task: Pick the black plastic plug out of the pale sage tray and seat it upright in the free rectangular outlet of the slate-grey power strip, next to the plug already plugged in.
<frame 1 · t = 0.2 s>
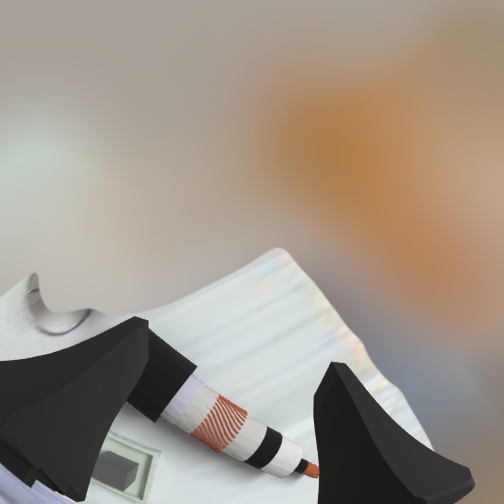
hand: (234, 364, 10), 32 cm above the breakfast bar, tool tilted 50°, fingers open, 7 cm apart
plug: (122, 465, 28), resting on tray
tray: (123, 465, 28), on the breakfast bar
black white cylindrical piece: (218, 419, 35), on the breakfast bar
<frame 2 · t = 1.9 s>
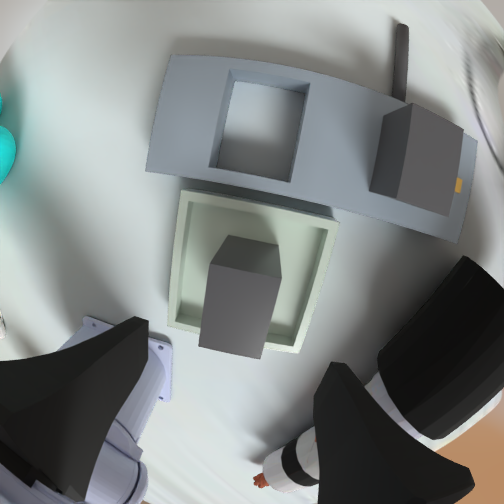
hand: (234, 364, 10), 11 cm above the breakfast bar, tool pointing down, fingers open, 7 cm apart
donuts: (3, 141, 18), on the breakfast bar
plug: (246, 273, 19), resting on tray
power strip: (326, 143, 17), on the breakfast bar
tray: (247, 271, 20), on the breakfast bar
black white cylindrical piece: (351, 400, 24), on the breakfast bar
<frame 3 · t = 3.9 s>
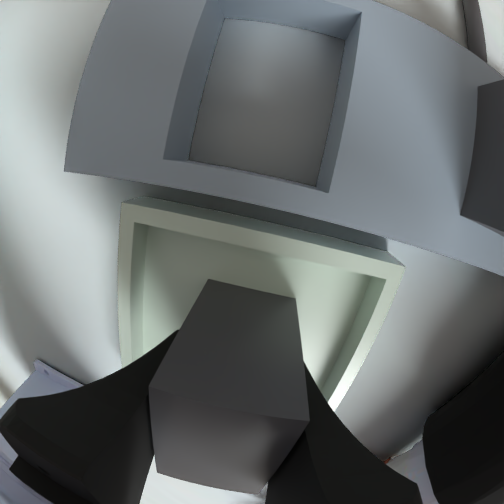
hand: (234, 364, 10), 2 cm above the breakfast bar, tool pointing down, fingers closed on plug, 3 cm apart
plug: (240, 339, 11), resting on tray, touching gripper
power strip: (382, 123, 9), on the breakfast bar
tray: (241, 333, 12), on the breakfast bar
black white cylindrical piece: (371, 463, 16), on the breakfast bar
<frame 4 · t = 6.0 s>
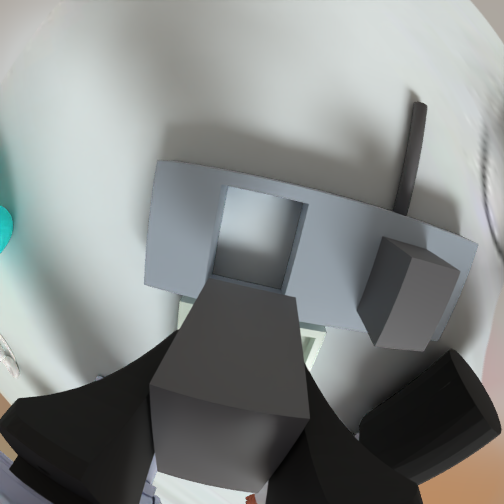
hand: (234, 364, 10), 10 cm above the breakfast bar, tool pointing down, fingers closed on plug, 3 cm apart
plug: (240, 338, 12), point 8 cm above the breakfast bar, touching gripper
power strip: (321, 252, 18), on the breakfast bar
tray: (242, 358, 21), on the breakfast bar
black white cylindrical piece: (336, 445, 25), on the breakfast bar
teacup and saucer: (8, 360, 28), on the breakfast bar
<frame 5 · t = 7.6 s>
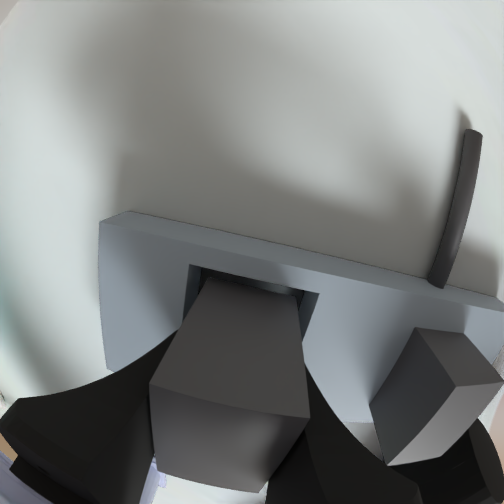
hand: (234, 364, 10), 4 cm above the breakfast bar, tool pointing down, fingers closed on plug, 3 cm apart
plug: (240, 337, 11), point 2 cm above the breakfast bar, touching gripper
power strip: (331, 334, 13), on the breakfast bar
black white cylindrical piece: (334, 492, 20), on the breakfast bar
when the fingers open (3 cm above the breakfast bar, at t = 8.5 s): plug drops 2 cm, resting in power strip.
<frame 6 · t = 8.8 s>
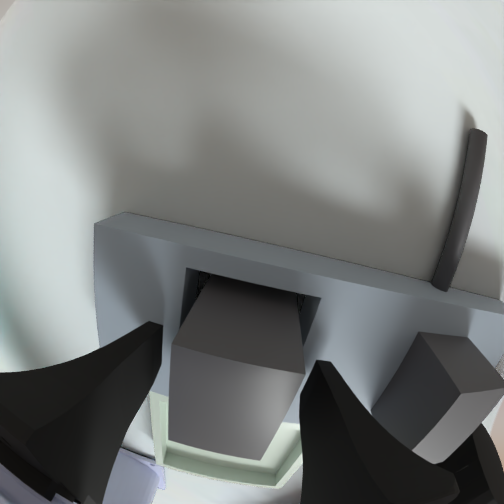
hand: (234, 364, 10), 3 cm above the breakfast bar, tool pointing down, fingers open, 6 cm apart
plug: (244, 320, 13), resting in power strip
power strip: (332, 338, 13), on the breakfast bar
tray: (230, 436, 16), on the breakfast bar
black white cylindrical piece: (335, 495, 20), on the breakfast bar
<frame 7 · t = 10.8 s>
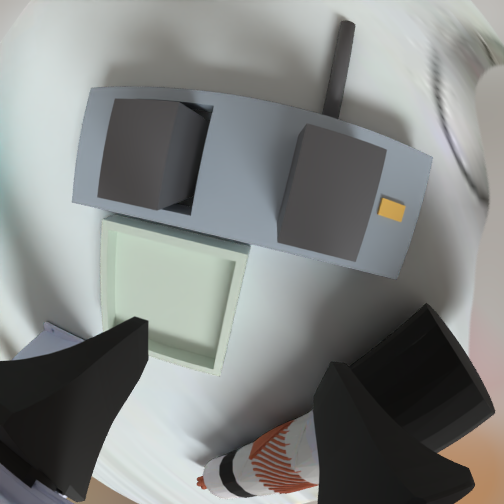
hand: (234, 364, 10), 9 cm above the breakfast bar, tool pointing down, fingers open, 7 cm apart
plug: (176, 154, 17), resting in power strip
power strip: (242, 167, 17), on the breakfast bar
tray: (169, 294, 20), on the breakfast bar
black white cylindrical piece: (295, 423, 24), on the breakfast bar
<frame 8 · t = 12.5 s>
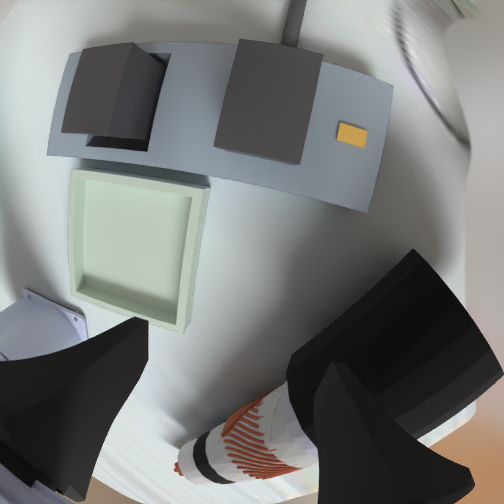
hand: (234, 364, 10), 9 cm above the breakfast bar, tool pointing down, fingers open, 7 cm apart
plug: (142, 105, 16), resting in power strip
power strip: (202, 110, 16), on the breakfast bar
tray: (133, 244, 19), on the breakfast bar
black white cylindrical piece: (275, 399, 23), on the breakfast bar
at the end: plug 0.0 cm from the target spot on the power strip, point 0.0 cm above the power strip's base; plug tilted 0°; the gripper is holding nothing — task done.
